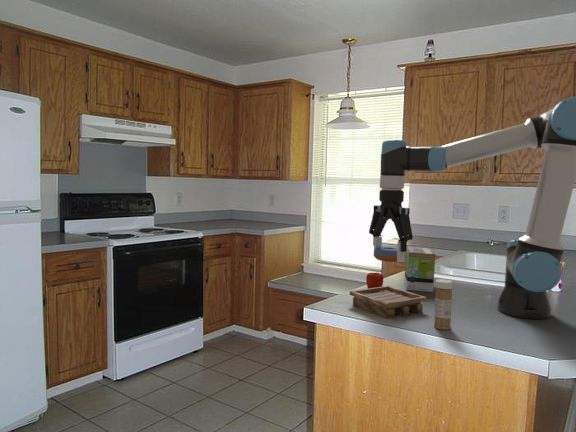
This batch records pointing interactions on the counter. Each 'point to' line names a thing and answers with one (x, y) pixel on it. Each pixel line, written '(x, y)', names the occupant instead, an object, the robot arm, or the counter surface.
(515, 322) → the counter surface
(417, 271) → the tea box
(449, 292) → the sprinkles bottle
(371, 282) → the red bell pepper
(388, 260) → the doughnut
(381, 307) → the wooden pallet tray
